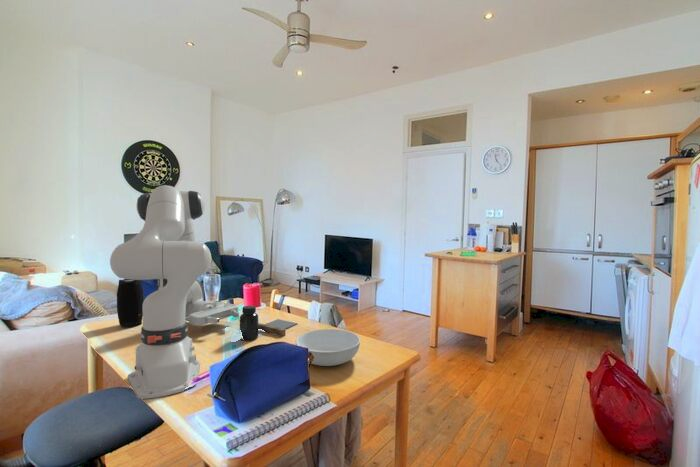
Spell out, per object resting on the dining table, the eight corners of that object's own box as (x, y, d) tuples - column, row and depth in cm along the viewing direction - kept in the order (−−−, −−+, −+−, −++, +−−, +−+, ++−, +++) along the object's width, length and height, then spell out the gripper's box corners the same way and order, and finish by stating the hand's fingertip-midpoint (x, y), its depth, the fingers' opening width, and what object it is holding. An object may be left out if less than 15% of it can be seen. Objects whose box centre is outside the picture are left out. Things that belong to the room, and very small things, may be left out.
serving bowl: (320, 343, 126) (320, 324, 125) (370, 355, 115) (371, 335, 115) (281, 363, 108) (281, 342, 108) (337, 381, 97) (337, 357, 97)
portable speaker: (147, 324, 144) (146, 278, 143) (122, 330, 137) (121, 281, 136) (138, 320, 149) (137, 276, 148) (113, 325, 142) (112, 279, 141)
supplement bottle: (260, 339, 129) (260, 307, 128) (242, 342, 125) (242, 310, 125) (254, 333, 135) (254, 303, 134) (237, 337, 131) (237, 306, 130)
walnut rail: (285, 335, 133) (285, 329, 133) (282, 336, 132) (282, 330, 132) (248, 326, 143) (248, 320, 143) (245, 327, 142) (245, 321, 141)
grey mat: (297, 324, 147) (297, 323, 147) (280, 331, 137) (280, 330, 137) (278, 320, 152) (278, 319, 152) (260, 327, 143) (260, 325, 143)
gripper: (181, 310, 133) (205, 316, 126) (224, 299, 151) (247, 304, 144) (182, 326, 133) (205, 333, 126) (224, 314, 151) (247, 319, 144)
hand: (227, 317), depth 135 cm, fingers open, 8 cm apart
